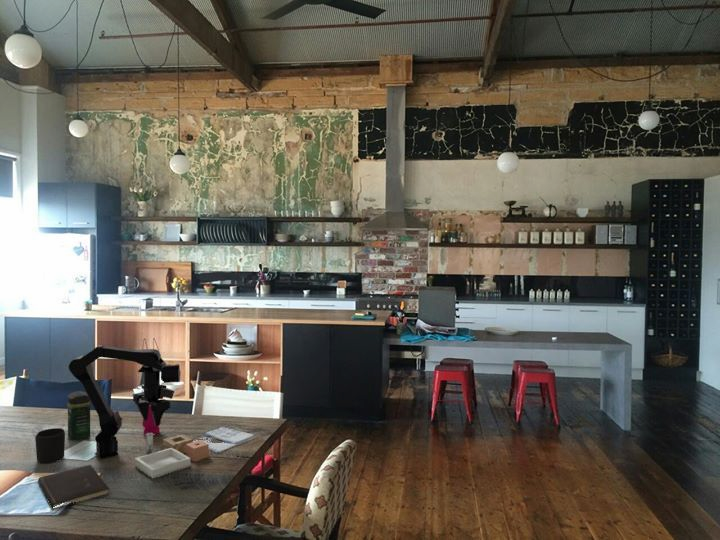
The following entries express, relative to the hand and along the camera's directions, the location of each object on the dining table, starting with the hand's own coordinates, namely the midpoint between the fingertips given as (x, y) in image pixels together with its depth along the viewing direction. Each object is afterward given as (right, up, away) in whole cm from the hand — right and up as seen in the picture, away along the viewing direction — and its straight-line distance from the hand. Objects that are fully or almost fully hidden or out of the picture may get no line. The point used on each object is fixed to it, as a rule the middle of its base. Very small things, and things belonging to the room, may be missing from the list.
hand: (151, 423), depth 199 cm
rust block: (+19, -12, -4) cm, 23 cm away
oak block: (+10, -11, +2) cm, 15 cm away
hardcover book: (-14, -13, -30) cm, 35 cm away
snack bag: (+23, -12, +12) cm, 29 cm away
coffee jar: (-35, -10, +14) cm, 39 cm away
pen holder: (-34, -11, -8) cm, 37 cm away
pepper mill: (-8, -10, +20) cm, 24 cm away
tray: (+9, -12, -13) cm, 20 cm away
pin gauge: (0, -11, -1) cm, 11 cm away
